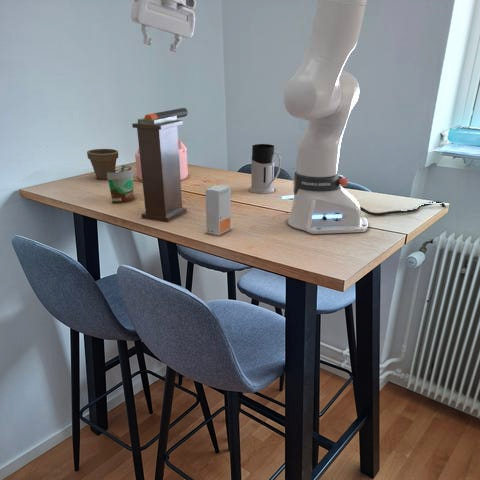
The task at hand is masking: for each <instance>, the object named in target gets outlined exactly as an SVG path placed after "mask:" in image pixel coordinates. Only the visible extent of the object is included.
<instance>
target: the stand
mask: <svg viewBox="0 0 480 480" xmlns="http://www.w3.org/2000/svg"><path fill="white" fill-rule="evenodd" d="M131 125H132V129H136V132H137V140H138V149H139V152H140V162H141V172H142V180H141V182H142V190H143V191H142V192H143V201H144V209H145V211H144V212H143V213H141V219H145V220H152V221H157V222H165V223H169V222H171V221H172V220H174V219H176V218H179V217H180V216H181V215H183V214H185V213H187V209H188V208H187V207H183V198H182V197H183V194H182V180H181V178H180V162H179V145H178V140H179V132H178V126H182V125H184V120H183V119H182V120H179V119H178V118H177V116H175V115H174V116H169V117H165V118H160V119H155V120H145V119H144V117H142V118H137V122H135V123H132V124H131Z"/></svg>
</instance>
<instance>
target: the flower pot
mask: <svg viewBox="0 0 480 480" xmlns="http://www.w3.org/2000/svg"><path fill="white" fill-rule="evenodd" d="M86 156H87V159H88V160H90V163H91V166H92V170H93V172H94V174H95V177H96V179H98V180H101V181H102V180H103V181H106V180H107V172H109V173H113V172H114V171H115V170H116V167H117V160H118V158H119V150H118V149H113V148H94V149H90V150H87V151H86Z"/></svg>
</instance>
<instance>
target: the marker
mask: <svg viewBox="0 0 480 480" xmlns="http://www.w3.org/2000/svg"><path fill="white" fill-rule="evenodd" d="M188 113H189V112H188V109H187V108H186V107H180V108H175V109H169V110H165V111H164V110H163V111H158V112H154V113H147V114H145V115H144V117H143V118H144V119H145V120H155V119H160V118H165V117H169V116H174V115H175V116H177V119H180V118H185V117H187V116H188Z"/></svg>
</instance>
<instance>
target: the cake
mask: <svg viewBox="0 0 480 480" xmlns="http://www.w3.org/2000/svg"><path fill="white" fill-rule="evenodd" d="M178 145H179V162H180V178H181V181H183V180H186V179H187V178H188V176H189V171H188V170H189V167H188V153H187V152H188V149H189V148H187V146H186V145H184V143H183V142H182V141H181V139H178ZM134 156H135V157H134V158H135V167H136V176H137V179H138V180H140V181H142V172H141V162H140V152H139V148H138V149H137V151H136V152H135V154H134Z"/></svg>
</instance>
